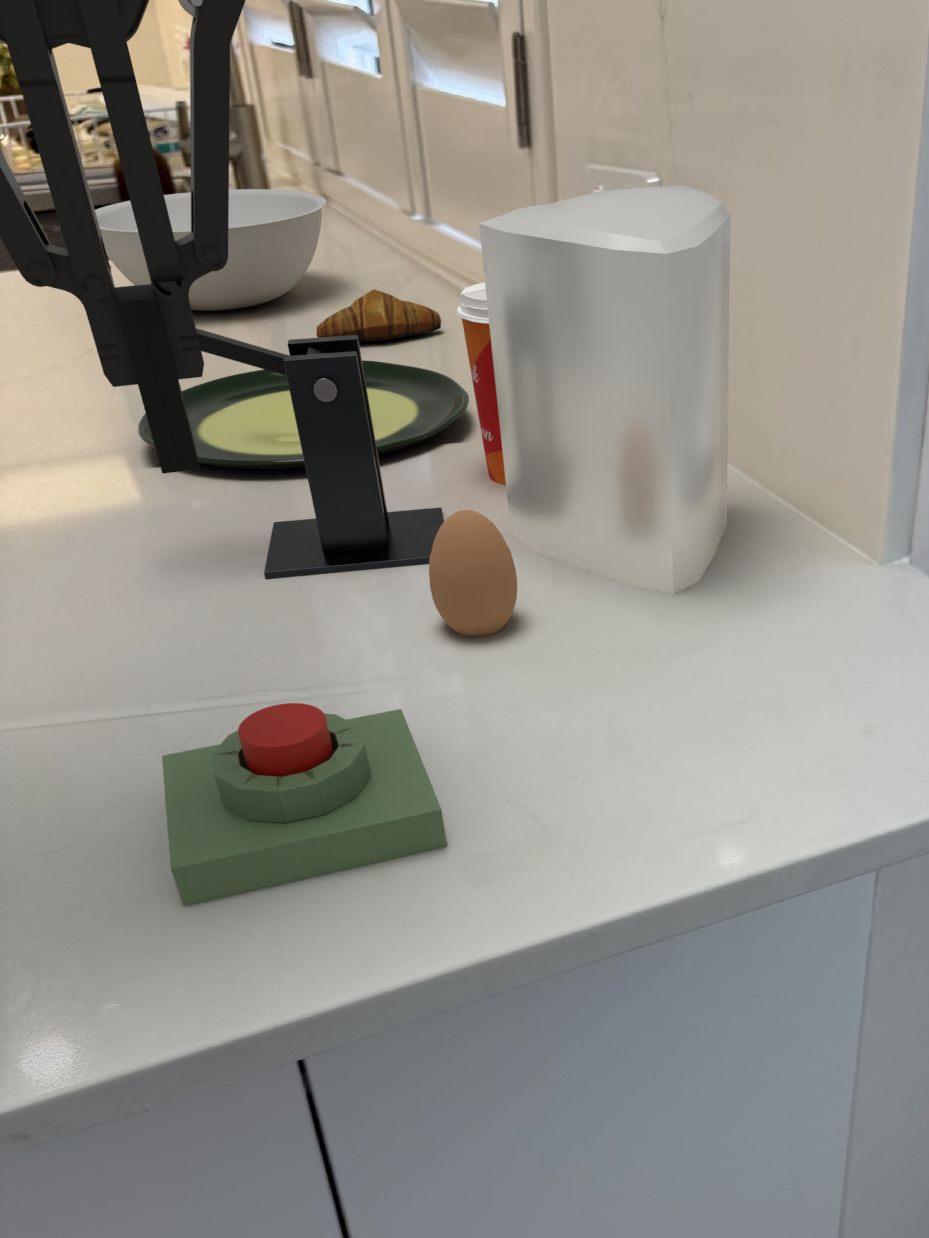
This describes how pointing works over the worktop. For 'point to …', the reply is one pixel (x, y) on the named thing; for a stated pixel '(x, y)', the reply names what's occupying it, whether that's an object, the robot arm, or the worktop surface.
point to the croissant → (380, 319)
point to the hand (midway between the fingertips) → (179, 460)
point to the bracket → (342, 474)
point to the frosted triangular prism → (614, 379)
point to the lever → (244, 352)
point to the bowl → (230, 245)
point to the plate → (266, 426)
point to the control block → (298, 811)
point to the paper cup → (483, 375)
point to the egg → (472, 575)
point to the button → (285, 739)
